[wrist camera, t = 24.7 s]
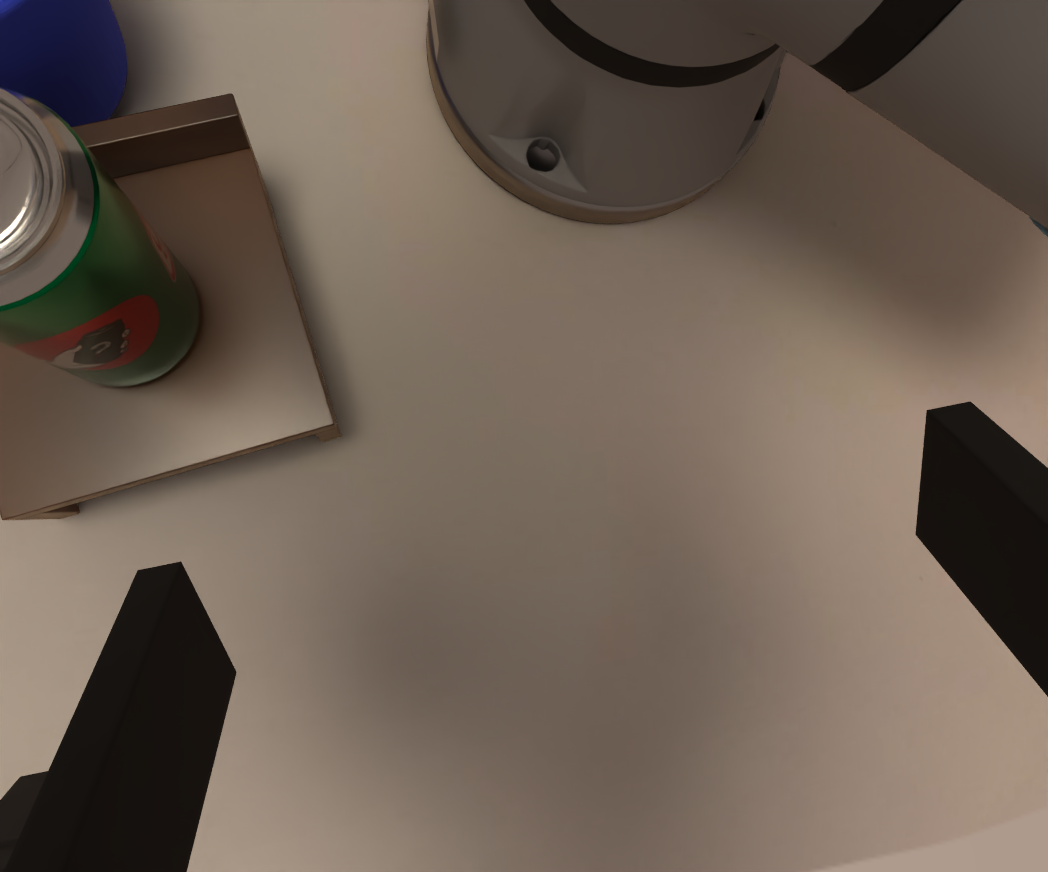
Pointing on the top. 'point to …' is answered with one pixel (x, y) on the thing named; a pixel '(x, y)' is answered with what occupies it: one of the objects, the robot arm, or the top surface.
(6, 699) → the top surface
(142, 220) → the soda can
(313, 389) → the wooden display riser
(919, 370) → the top surface
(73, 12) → the mug
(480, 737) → the top surface
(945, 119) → the robot arm
